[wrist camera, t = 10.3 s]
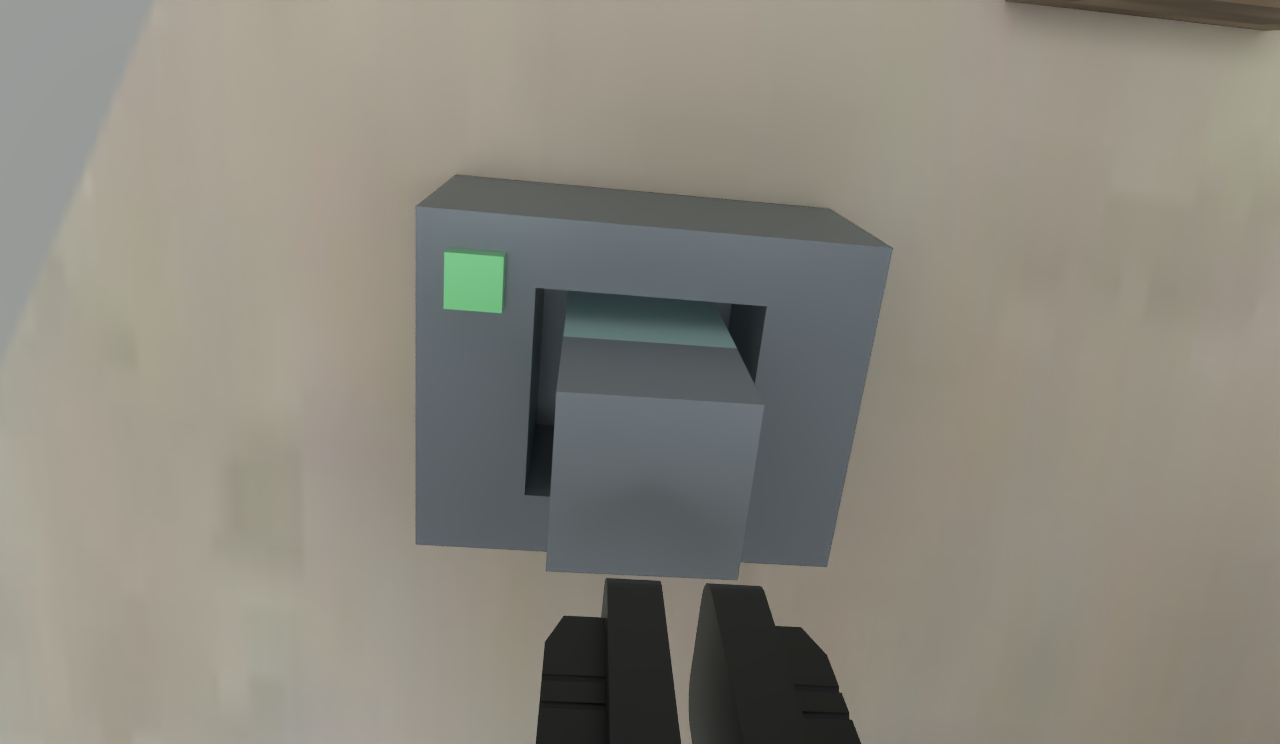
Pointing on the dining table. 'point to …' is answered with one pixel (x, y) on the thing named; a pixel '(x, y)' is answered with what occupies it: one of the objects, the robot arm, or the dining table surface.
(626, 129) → the dining table surface
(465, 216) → the port
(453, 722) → the dining table surface
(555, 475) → the plug
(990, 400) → the dining table surface
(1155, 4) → the wooden box
